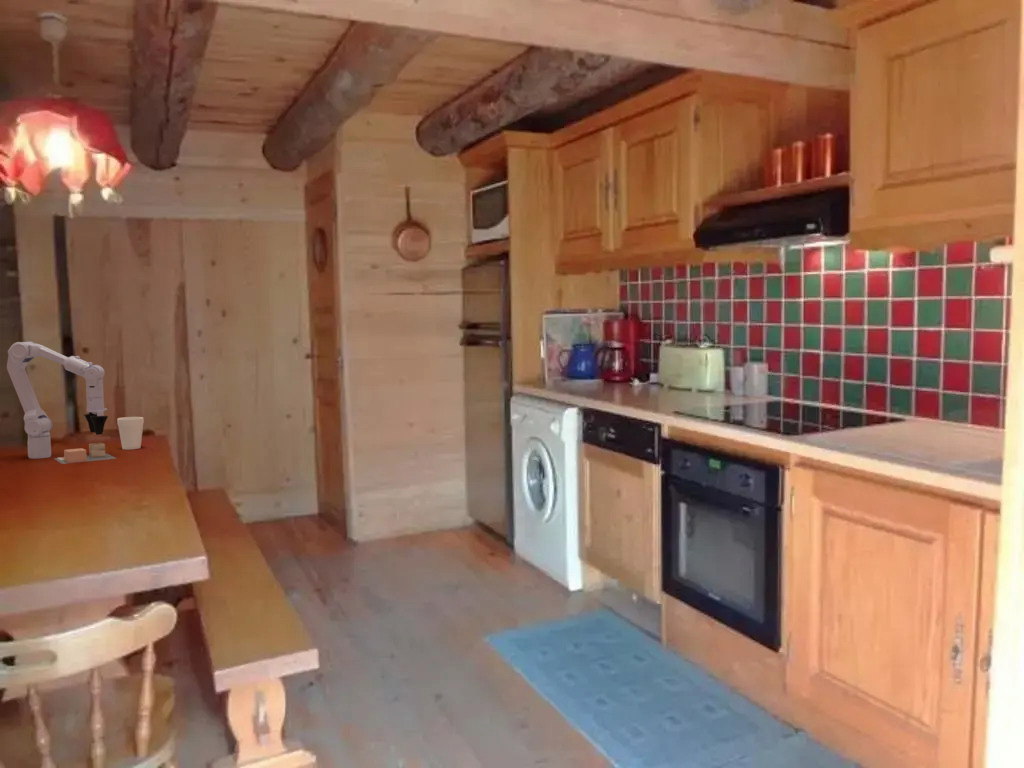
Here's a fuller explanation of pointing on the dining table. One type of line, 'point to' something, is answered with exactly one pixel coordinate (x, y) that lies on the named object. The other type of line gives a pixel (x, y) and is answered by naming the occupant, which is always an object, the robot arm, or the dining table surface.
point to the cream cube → (96, 449)
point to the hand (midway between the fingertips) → (96, 433)
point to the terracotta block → (75, 455)
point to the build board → (91, 458)
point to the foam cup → (130, 431)
